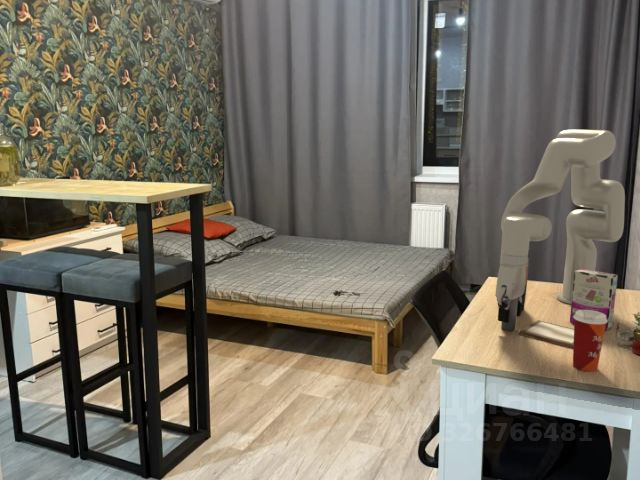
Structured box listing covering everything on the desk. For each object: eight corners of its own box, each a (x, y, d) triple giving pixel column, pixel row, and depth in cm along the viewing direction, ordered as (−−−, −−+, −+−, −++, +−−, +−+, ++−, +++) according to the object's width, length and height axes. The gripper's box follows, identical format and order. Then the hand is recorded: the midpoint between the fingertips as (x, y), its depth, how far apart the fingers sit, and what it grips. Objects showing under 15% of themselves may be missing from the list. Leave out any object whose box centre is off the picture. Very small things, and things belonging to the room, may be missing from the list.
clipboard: (537, 323, 177) (538, 317, 176) (592, 336, 166) (593, 330, 165) (519, 334, 167) (519, 327, 167) (575, 349, 157) (576, 342, 156)
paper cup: (599, 376, 140) (606, 321, 137) (565, 368, 144) (571, 315, 141) (603, 365, 146) (610, 312, 143) (571, 358, 150) (576, 306, 147)
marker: (504, 325, 174) (508, 284, 171) (518, 329, 171) (521, 287, 168) (498, 329, 171) (501, 287, 168) (511, 332, 168) (515, 289, 165)
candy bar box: (612, 327, 174) (619, 274, 171) (607, 331, 171) (613, 277, 167) (574, 318, 182) (580, 267, 178) (568, 322, 178) (574, 270, 175)
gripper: (514, 253, 175) (510, 309, 179) (487, 262, 163) (483, 322, 167) (539, 257, 170) (533, 314, 174) (512, 267, 158) (507, 329, 162)
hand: (509, 318), depth 170 cm, fingers open, 6 cm apart
